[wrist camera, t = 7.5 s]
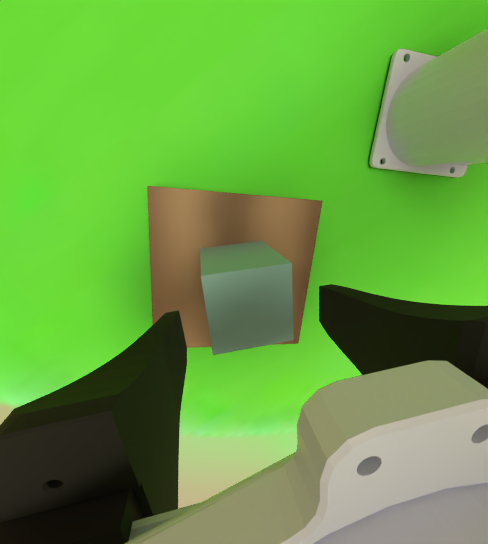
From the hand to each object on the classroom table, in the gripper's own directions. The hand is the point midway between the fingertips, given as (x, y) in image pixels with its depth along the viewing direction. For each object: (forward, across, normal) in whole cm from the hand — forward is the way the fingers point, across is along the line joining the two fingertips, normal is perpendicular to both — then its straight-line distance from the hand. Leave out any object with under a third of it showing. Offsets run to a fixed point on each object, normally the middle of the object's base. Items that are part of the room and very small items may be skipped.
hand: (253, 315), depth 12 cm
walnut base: (+9, 0, 0) cm, 9 cm away
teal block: (+6, 0, 0) cm, 6 cm away
